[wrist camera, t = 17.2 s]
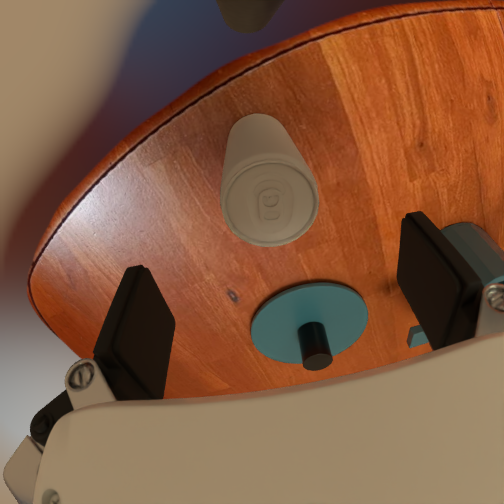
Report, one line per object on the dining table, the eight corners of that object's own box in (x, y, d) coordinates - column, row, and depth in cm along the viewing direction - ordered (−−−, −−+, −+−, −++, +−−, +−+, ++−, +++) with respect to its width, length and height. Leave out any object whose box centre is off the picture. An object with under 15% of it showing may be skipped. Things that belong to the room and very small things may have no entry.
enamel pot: (388, 237, 30) (427, 300, 22) (508, 212, 28) (553, 256, 20) (379, 321, 38) (402, 380, 30) (485, 289, 36) (515, 334, 28)
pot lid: (238, 292, 33) (238, 335, 28) (368, 267, 32) (386, 305, 27) (262, 363, 42) (264, 400, 37) (362, 344, 40) (373, 378, 35)
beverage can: (285, 110, 22) (322, 153, 13) (288, 165, 25) (320, 245, 15) (224, 115, 22) (211, 162, 13) (231, 170, 25) (225, 253, 15)
